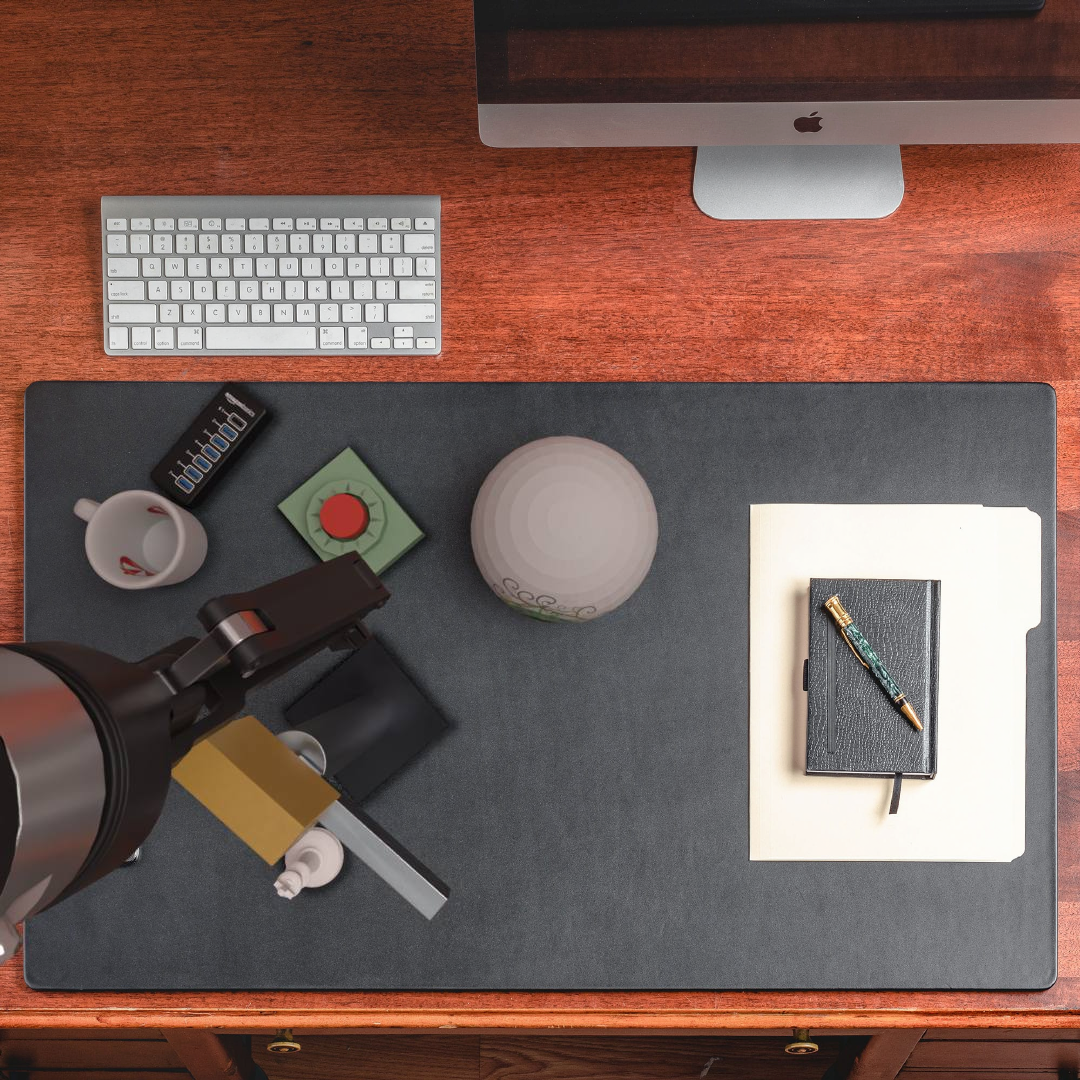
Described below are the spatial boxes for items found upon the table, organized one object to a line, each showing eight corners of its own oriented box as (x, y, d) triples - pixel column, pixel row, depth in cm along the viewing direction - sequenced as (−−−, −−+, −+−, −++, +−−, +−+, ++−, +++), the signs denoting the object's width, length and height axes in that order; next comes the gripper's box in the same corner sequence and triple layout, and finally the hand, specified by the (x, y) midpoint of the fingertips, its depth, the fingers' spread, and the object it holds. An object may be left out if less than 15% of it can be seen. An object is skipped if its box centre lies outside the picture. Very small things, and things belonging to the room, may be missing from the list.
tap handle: (235, 741, 53) (164, 770, 43) (261, 710, 53) (198, 732, 43) (429, 915, 52) (404, 986, 42) (456, 883, 52) (437, 946, 42)
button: (316, 515, 75) (311, 513, 73) (349, 488, 75) (344, 485, 73) (343, 547, 75) (338, 546, 73) (376, 520, 75) (372, 517, 73)
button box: (284, 509, 78) (270, 503, 74) (353, 451, 79) (344, 442, 75) (356, 594, 78) (346, 593, 74) (425, 535, 78) (419, 531, 74)
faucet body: (288, 711, 77) (175, 755, 53) (376, 636, 77) (304, 645, 54) (361, 800, 76) (280, 885, 52) (449, 724, 77) (410, 773, 53)
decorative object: (448, 579, 78) (427, 570, 63) (520, 427, 79) (517, 383, 64) (603, 651, 77) (619, 659, 62) (673, 497, 79) (705, 469, 64)
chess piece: (311, 815, 76) (277, 845, 66) (355, 852, 76) (327, 887, 66) (274, 860, 76) (234, 897, 66) (318, 898, 76) (284, 940, 66)
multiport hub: (158, 479, 79) (147, 475, 76) (238, 385, 79) (229, 378, 77) (196, 510, 78) (186, 507, 76) (275, 415, 79) (267, 409, 77)
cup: (85, 550, 78) (34, 543, 70) (130, 472, 79) (84, 455, 71) (191, 607, 78) (151, 607, 70) (236, 528, 78) (201, 518, 70)
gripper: (-333, 1218, 22) (91, 927, 44) (433, 599, 24) (485, 608, 45) (-495, 980, 23) (2, 806, 44) (263, 387, 24) (393, 494, 45)
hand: (246, 706), depth 45 cm, fingers open, 13 cm apart
